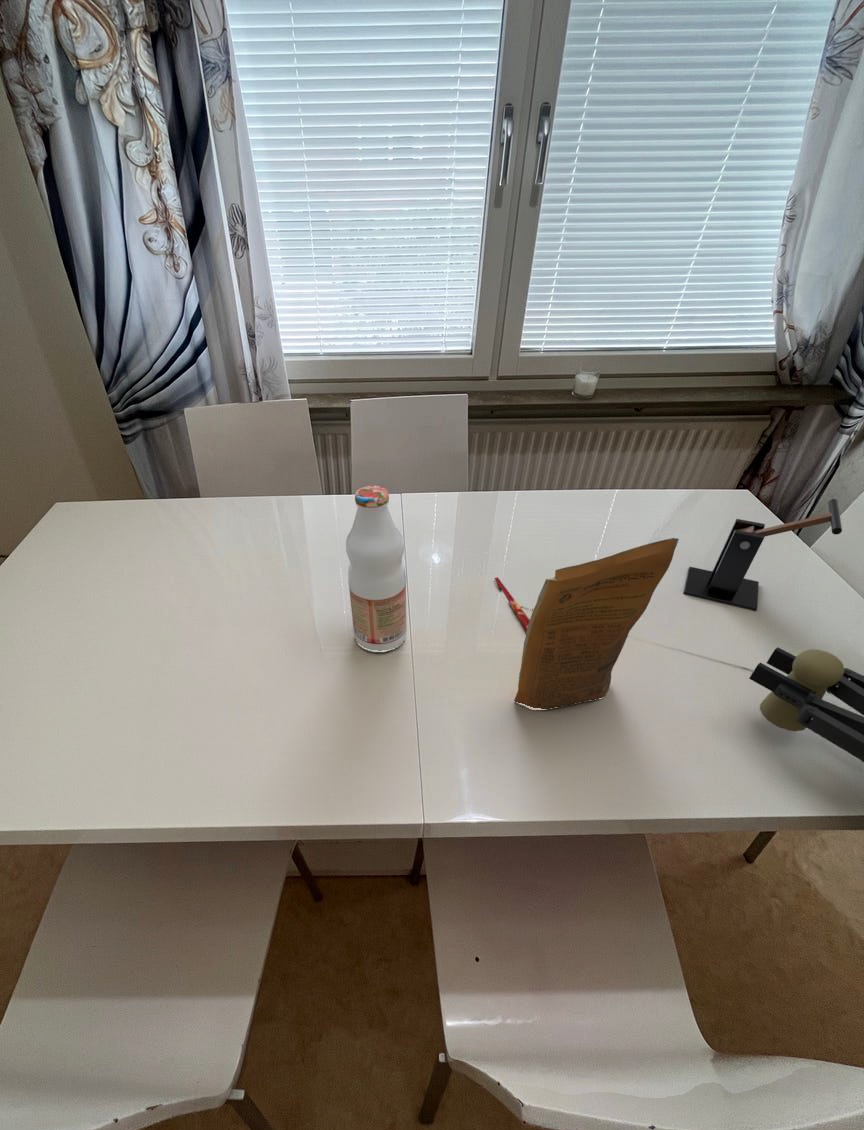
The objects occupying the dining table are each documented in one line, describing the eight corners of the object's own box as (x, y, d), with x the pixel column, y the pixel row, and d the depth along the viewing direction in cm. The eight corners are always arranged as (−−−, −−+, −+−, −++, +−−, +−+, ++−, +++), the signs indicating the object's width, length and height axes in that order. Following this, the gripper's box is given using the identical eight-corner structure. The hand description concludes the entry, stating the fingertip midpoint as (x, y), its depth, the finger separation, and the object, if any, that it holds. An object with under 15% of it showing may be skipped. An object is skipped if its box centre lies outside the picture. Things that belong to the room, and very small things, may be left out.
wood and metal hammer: (838, 507, 88) (836, 494, 87) (843, 536, 81) (840, 523, 80) (739, 531, 97) (735, 520, 96) (736, 559, 91) (732, 547, 90)
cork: (749, 703, 76) (785, 648, 69) (783, 693, 77) (822, 637, 70) (784, 736, 72) (826, 680, 64) (820, 724, 73) (865, 668, 66)
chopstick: (498, 579, 106) (499, 575, 106) (556, 660, 89) (557, 655, 88) (489, 580, 106) (490, 576, 105) (545, 662, 89) (546, 658, 88)
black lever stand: (755, 586, 101) (790, 523, 92) (754, 614, 96) (791, 549, 86) (687, 571, 106) (713, 509, 96) (681, 596, 100) (709, 532, 91)
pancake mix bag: (633, 702, 82) (698, 547, 63) (516, 726, 79) (548, 573, 60) (610, 672, 87) (664, 519, 68) (499, 693, 84) (524, 542, 65)
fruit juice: (346, 648, 93) (328, 503, 75) (365, 615, 100) (353, 474, 81) (397, 659, 91) (391, 512, 72) (413, 625, 97) (412, 482, 78)
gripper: (927, 837, 59) (719, 710, 73) (979, 756, 66) (781, 654, 80) (975, 802, 54) (742, 672, 68) (1026, 718, 61) (805, 616, 75)
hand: (763, 663), depth 74 cm, fingers closed on cork, 4 cm apart
